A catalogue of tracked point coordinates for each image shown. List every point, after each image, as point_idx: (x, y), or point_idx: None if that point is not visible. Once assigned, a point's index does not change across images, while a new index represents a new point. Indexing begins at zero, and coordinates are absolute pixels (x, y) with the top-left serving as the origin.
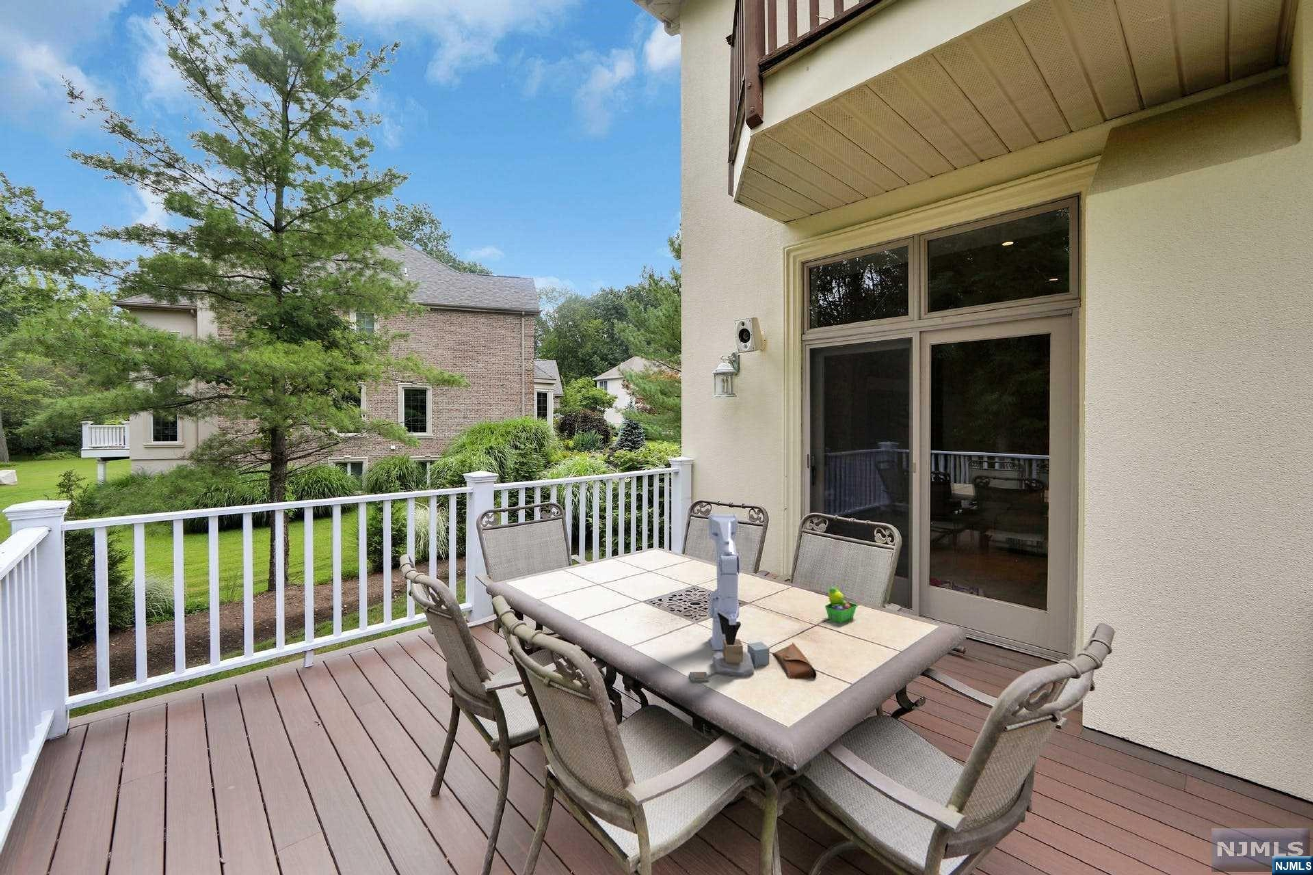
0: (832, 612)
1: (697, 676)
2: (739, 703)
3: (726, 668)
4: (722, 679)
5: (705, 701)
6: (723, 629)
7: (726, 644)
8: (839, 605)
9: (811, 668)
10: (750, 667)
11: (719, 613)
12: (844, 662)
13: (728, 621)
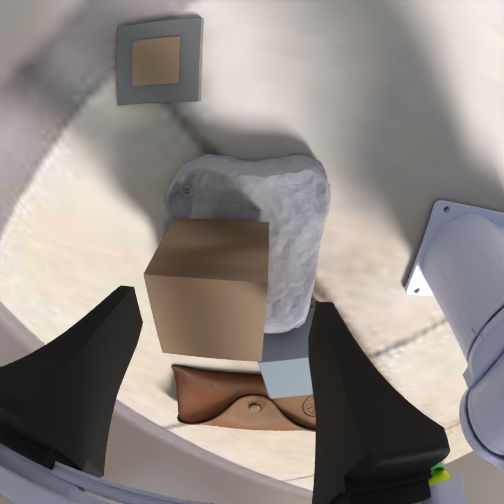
0: None
1: (145, 53)
2: (13, 201)
3: (167, 205)
4: (145, 168)
5: (7, 94)
6: (319, 335)
7: (173, 281)
8: None
9: (180, 417)
10: None
11: (354, 458)
12: (255, 446)
13: (17, 442)
